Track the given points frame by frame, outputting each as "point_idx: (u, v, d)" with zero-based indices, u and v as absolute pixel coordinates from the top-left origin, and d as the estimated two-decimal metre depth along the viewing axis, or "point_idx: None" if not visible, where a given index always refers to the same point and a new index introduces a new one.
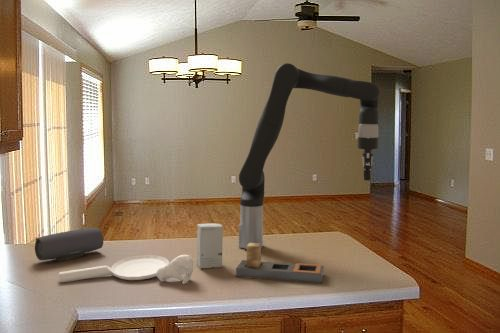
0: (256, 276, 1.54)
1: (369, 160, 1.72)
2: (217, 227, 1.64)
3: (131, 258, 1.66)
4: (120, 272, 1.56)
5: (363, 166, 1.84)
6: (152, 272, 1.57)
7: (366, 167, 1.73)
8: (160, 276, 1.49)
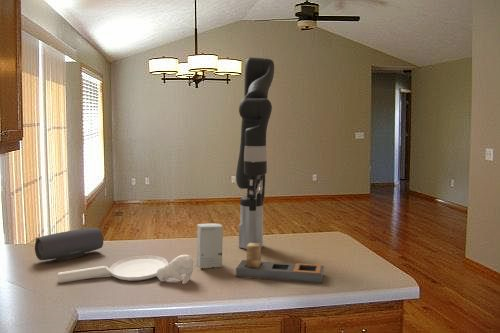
0: (256, 276, 1.54)
1: (252, 188, 1.49)
2: (217, 227, 1.64)
3: (130, 258, 1.66)
4: (119, 272, 1.56)
5: None
6: (151, 272, 1.56)
7: (249, 196, 1.49)
8: (160, 276, 1.49)
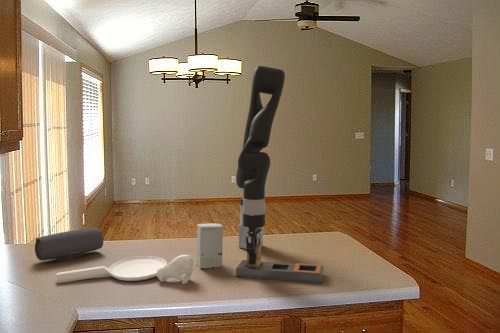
0: (256, 276, 1.54)
1: (251, 245, 1.52)
2: (217, 227, 1.64)
3: (129, 258, 1.66)
4: (118, 273, 1.56)
5: None
6: (150, 273, 1.56)
7: (249, 251, 1.53)
8: (160, 276, 1.49)
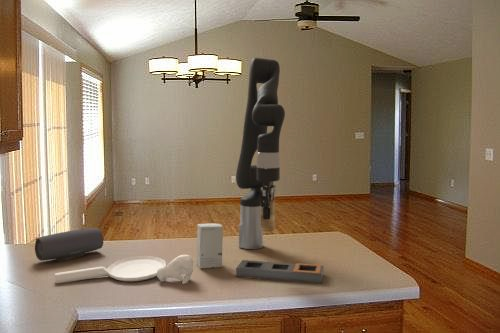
0: (256, 276, 1.54)
1: (266, 199, 1.49)
2: (217, 227, 1.64)
3: (128, 259, 1.65)
4: (116, 273, 1.55)
5: None
6: (149, 273, 1.56)
7: (263, 205, 1.50)
8: (160, 276, 1.49)
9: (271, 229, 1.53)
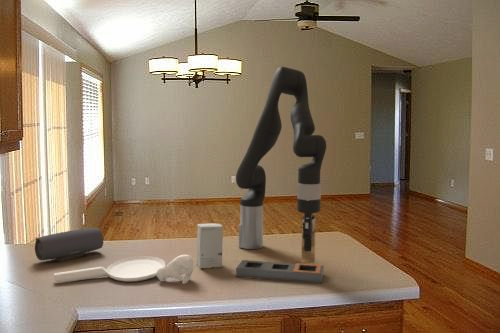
0: (256, 276, 1.54)
1: (308, 231, 1.47)
2: (217, 227, 1.64)
3: (127, 259, 1.65)
4: (116, 273, 1.55)
5: None
6: (148, 273, 1.55)
7: (305, 237, 1.49)
8: (160, 276, 1.49)
9: (312, 261, 1.52)
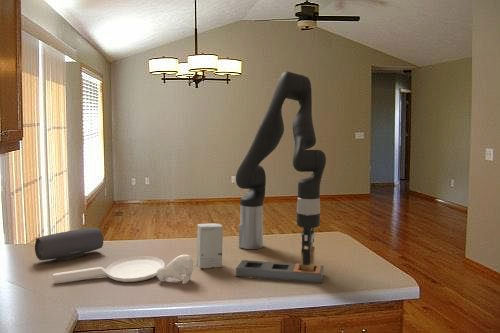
0: (256, 276, 1.54)
1: (307, 243, 1.47)
2: (217, 227, 1.64)
3: (126, 259, 1.65)
4: (115, 273, 1.55)
5: None
6: (147, 274, 1.55)
7: (304, 251, 1.48)
8: (160, 276, 1.49)
9: None
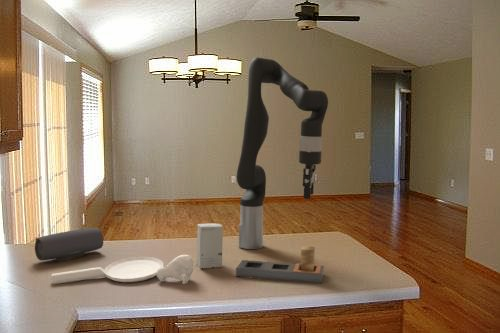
0: (256, 276, 1.54)
1: (308, 177, 1.55)
2: (217, 227, 1.64)
3: (125, 259, 1.65)
4: (114, 274, 1.55)
5: (307, 182, 1.66)
6: (146, 274, 1.55)
7: (305, 184, 1.55)
8: (160, 276, 1.49)
9: None
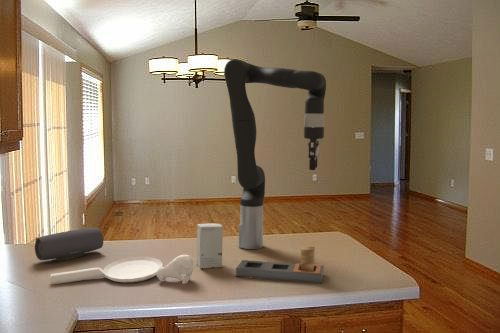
0: (256, 276, 1.54)
1: (313, 149, 1.71)
2: (217, 227, 1.64)
3: (124, 260, 1.64)
4: (113, 274, 1.54)
5: None
6: (145, 274, 1.55)
7: (310, 156, 1.72)
8: (160, 276, 1.49)
9: None
